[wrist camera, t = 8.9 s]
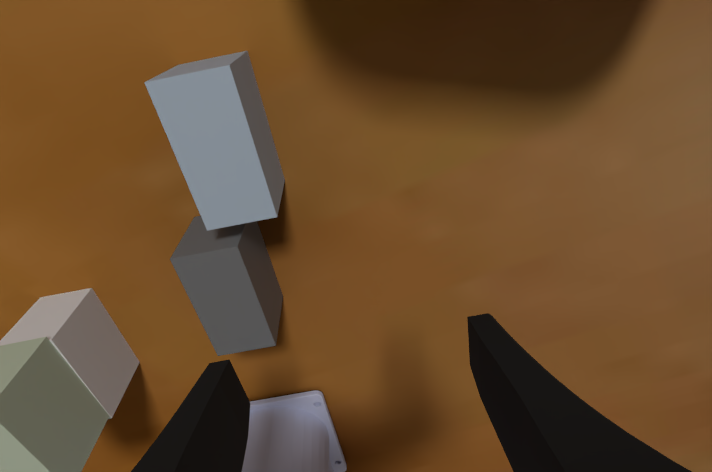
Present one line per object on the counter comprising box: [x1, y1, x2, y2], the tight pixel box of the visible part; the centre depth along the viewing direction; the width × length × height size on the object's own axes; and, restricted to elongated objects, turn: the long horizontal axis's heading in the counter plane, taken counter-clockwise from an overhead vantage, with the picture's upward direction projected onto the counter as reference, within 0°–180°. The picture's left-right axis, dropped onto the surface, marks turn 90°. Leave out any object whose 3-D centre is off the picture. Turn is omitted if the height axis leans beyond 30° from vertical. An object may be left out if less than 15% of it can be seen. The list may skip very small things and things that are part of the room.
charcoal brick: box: [170, 216, 283, 356], centre depth 21 cm, size 6×3×4 cm, turn 10°
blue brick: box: [144, 51, 285, 231], centre depth 17 cm, size 6×3×4 cm, turn 10°
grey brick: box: [0, 288, 140, 419], centre depth 23 cm, size 6×3×4 cm, turn 10°
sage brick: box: [0, 337, 109, 472], centre depth 19 cm, size 6×3×4 cm, turn 11°
